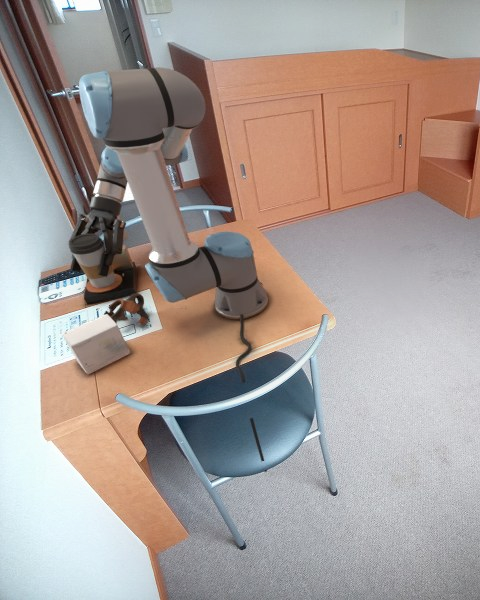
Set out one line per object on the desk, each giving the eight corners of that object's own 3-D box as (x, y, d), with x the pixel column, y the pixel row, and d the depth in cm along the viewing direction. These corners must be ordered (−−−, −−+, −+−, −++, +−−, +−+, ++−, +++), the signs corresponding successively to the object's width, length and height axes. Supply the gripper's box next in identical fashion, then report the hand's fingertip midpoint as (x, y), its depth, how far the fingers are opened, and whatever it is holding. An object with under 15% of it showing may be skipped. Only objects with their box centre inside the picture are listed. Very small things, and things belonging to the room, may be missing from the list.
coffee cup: (122, 284, 130) (104, 241, 121) (91, 293, 126) (69, 250, 117) (116, 271, 135) (97, 229, 126) (85, 280, 131) (64, 238, 121)
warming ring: (121, 288, 129) (121, 287, 129) (84, 295, 126) (84, 294, 125) (122, 271, 136) (122, 270, 136) (87, 278, 132) (87, 277, 132)
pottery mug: (142, 334, 118) (115, 319, 113) (120, 340, 122) (93, 325, 116) (160, 300, 126) (136, 283, 120) (139, 306, 129) (115, 290, 123)
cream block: (133, 263, 139) (125, 243, 134) (133, 268, 137) (124, 248, 132) (114, 267, 137) (105, 246, 132) (113, 271, 135) (104, 251, 130)
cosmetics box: (88, 376, 106) (70, 346, 99) (78, 362, 109) (59, 333, 102) (131, 353, 112) (117, 324, 106) (121, 342, 115) (106, 312, 109)
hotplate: (143, 293, 132) (140, 286, 130) (87, 304, 126) (83, 297, 125) (143, 263, 144) (140, 257, 142) (91, 272, 139) (88, 265, 137)
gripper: (148, 208, 129) (130, 281, 127) (86, 199, 132) (67, 270, 129) (130, 199, 122) (111, 276, 119) (65, 190, 124) (45, 265, 122)
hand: (88, 273), depth 124 cm, fingers closed on coffee cup, 8 cm apart
